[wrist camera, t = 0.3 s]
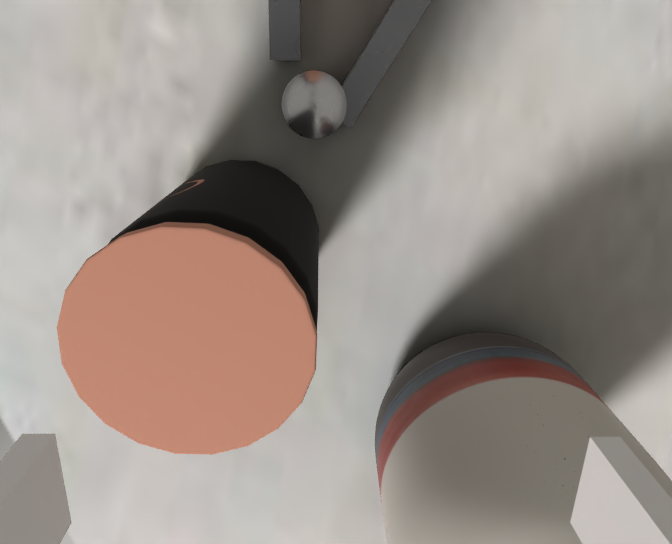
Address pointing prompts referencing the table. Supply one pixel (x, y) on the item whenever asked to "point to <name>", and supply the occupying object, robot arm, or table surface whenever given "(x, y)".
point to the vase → (489, 444)
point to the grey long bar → (349, 77)
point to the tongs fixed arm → (285, 30)
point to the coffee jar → (200, 314)
